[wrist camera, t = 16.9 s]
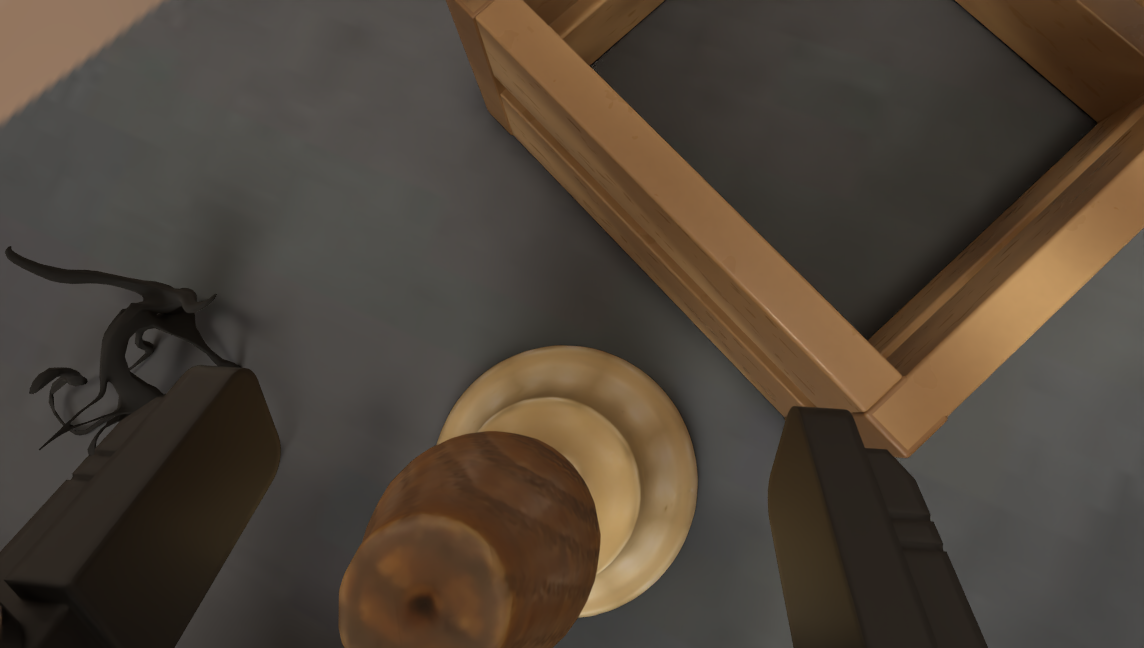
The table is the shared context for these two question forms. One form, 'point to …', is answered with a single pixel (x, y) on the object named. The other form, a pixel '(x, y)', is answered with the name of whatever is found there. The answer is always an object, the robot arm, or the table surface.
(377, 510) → the hand bell
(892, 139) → the table surface
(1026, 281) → the frame
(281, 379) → the table surface
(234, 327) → the table surface
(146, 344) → the creature
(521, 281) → the table surface
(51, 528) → the robot arm
